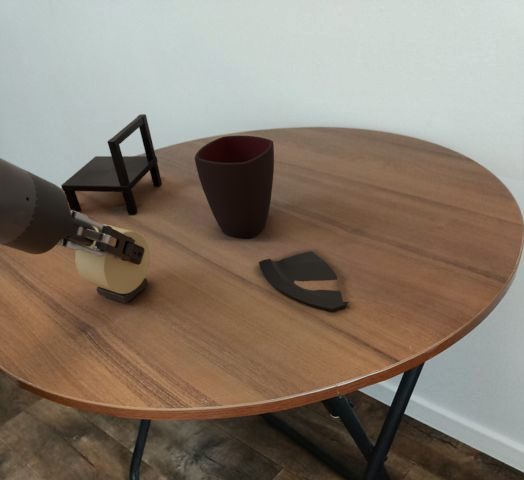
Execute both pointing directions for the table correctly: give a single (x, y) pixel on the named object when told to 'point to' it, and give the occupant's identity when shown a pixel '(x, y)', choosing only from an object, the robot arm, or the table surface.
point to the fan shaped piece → (303, 270)
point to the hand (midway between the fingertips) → (123, 251)
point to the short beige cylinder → (114, 270)
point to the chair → (116, 169)
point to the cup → (238, 182)
